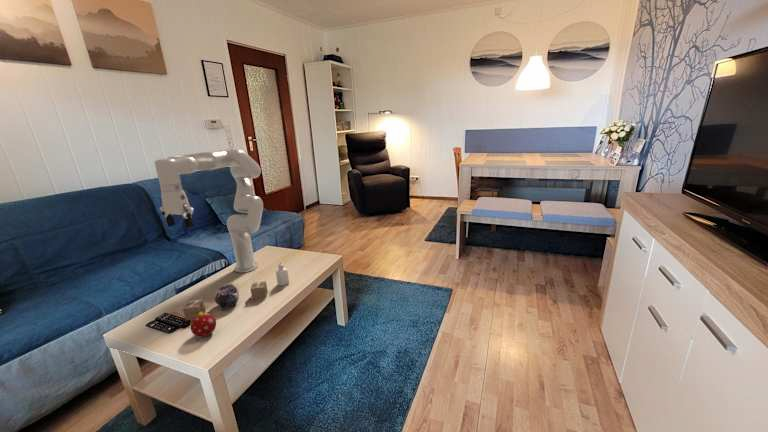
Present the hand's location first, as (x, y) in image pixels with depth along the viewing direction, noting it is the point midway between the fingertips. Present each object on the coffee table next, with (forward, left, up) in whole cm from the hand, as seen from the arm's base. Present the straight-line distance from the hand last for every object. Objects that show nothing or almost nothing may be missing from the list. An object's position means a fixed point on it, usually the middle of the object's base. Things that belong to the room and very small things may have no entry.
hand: (180, 226), depth 137 cm
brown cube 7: (+16, +4, -36) cm, 40 cm away
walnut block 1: (+7, +29, -36) cm, 47 cm away
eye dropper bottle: (-2, +39, -36) cm, 53 cm away
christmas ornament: (+31, +12, -36) cm, 49 cm away
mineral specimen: (+11, +16, -36) cm, 41 cm away
